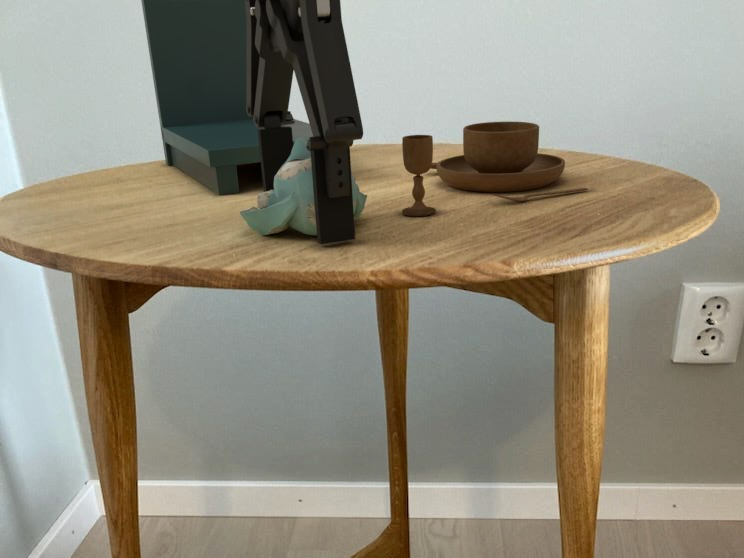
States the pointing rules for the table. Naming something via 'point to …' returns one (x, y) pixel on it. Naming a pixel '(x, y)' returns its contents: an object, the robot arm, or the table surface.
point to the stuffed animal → (293, 197)
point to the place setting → (485, 162)
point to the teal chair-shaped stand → (204, 88)
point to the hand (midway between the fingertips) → (307, 225)
